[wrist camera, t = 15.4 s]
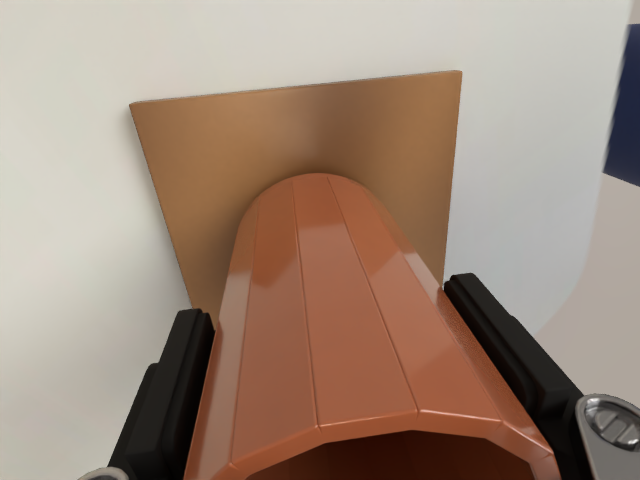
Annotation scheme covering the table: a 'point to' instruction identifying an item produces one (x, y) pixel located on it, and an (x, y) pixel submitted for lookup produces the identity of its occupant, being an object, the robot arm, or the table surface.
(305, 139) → the cork mat
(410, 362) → the tumbler
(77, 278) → the table surface
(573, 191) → the table surface
